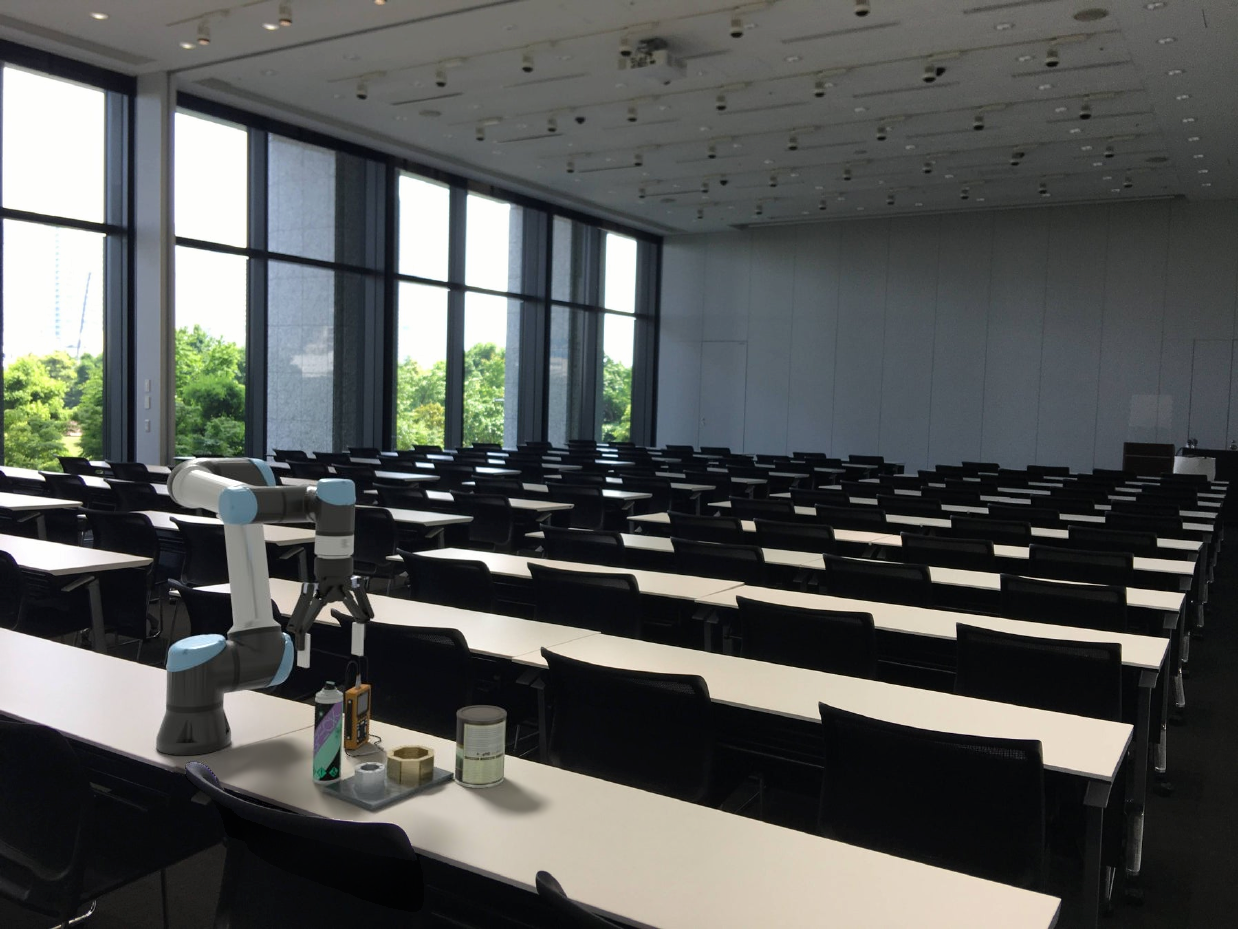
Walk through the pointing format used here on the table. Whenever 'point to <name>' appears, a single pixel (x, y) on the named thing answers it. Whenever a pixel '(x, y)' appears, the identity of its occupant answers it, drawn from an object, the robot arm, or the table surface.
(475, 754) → the coffee can
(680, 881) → the table surface
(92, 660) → the table surface
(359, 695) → the multimeter
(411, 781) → the fitting plate
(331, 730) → the spray can
